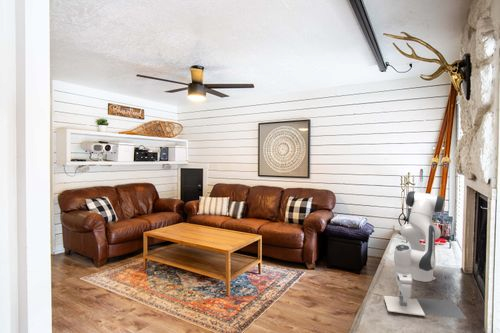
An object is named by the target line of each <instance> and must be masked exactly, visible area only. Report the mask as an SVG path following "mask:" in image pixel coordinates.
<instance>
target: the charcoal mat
mask: <svg viewBox="0 0 500 333" xmlns="http://www.w3.org/2000/svg"><path fill="white" fill-rule="evenodd" d="M415 299H417V300H418V302H419V304H420V306H421V308H422V310H423V312H424V314H425V315H428V316H429V315H430V316H436V317H437V316H438V317H445V318H446V317H447V318H456V319H461V320H462V319H464V320H468V318H467V316H465V313H463V311H462V310H461V309H460V308H459V306H457V304H456V303H455V302H454V301H453V300H447V299H446V300H443V299H436V298H435V299H434V298H427V297H426V298H425V297H416V296H415Z"/></svg>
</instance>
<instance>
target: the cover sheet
mask: <svg viewBox="0 0 500 333" xmlns="http://www.w3.org/2000/svg"><path fill="white" fill-rule="evenodd" d="M383 298H384V301H385V305H386V308H387V311H388V312H393V313H400V314H403V313H406V314H405V315H415V316H422V317H423V316H424V317H425V316H426V314H425V313H424V312H423V310H422V308H421V306H420V304H419V302H418V300H417V299H416V298H411V297H410V298H407V303H405V302H403V295H399V296H390V295H383Z"/></svg>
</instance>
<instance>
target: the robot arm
mask: <svg viewBox="0 0 500 333" xmlns="http://www.w3.org/2000/svg"><path fill="white" fill-rule="evenodd" d="M404 197H405V204H406V206H408V207H409V208H411V209H410V214H409V217H408V223H404V224H402V225H401V226H400V228H399V232H400V235H401V237H403V239H405V240H406V241H407V242H408V244H409V246H408V245H406V244H399V245H396V246H395V247H394V253H393V261H394V266H393V275H394V278H395V279H396V281H395V282H396V284H397V287H398V290H399V291H398V292H399V296H403V302H405V303H407V298H411V296H412V284H413V280H415V281H418V282H423V283H426V282H427V283H428V282H432V281H434V280H436V277H435V275H434V272H433V270H434V269H435V267H436V240H438V239H439V238H440V237H441V234H442V230H441V229H440V227H439V226H438V225H436V224H435V223H434V222H433V217H434V216H433V215H434V213H441V212H442V211H443V210H444V209H445V207H446V202H445V199H444V197H442V196H441V195H435V194H432V193H427V192H418V191H414V190H412V191H408V192H407V194H406V195H405V196H404ZM421 240H422V241H423V240H424V243H421V242H420V241H421Z"/></svg>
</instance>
